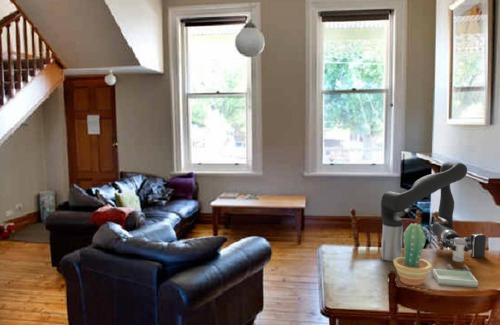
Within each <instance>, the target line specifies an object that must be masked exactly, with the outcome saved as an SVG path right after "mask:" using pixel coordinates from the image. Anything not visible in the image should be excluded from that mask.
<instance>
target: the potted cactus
mask: <svg viewBox="0 0 500 325" xmlns="http://www.w3.org/2000/svg"><path fill="white" fill-rule="evenodd" d="M427 239H428V242H430V240H431V233H430V230H429V229H428V228H427V227H426V226H422V225H421V224H418V223H417V222H414V223H412V222H411V223H410V224H409V225H407V227H406V229H405V230H404V232H403V246H404V253H403V254H404V256H402V257H398V258H396V259H394V260H393V261H392V262H393V266H394V267H395V269H396V273H397V274H398V276H399V277H400V279H399V280H400V282H402V283H404V284H406V285H410V286H419V285H422V284H423V280H424V279H425V278H426V277H427V275H428V273H429V271H431V269H432V264H431V262H429V261H428V260H426V259H423V258H421V255H422V251H423V249H424V247H425V244H426V240H427Z"/></svg>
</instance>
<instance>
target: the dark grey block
mask: <svg viewBox="0 0 500 325" xmlns="http://www.w3.org/2000/svg"><path fill="white" fill-rule="evenodd" d="M469 241H471V249H472V250H471V253H470V257H472V258H476V259H477V258H483V257H485V256H486V245H487V244H486V242H487V236H486V235H485V234H483V233H473V234H471V235H470V238H469Z"/></svg>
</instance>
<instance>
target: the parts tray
mask: <svg viewBox="0 0 500 325" xmlns="http://www.w3.org/2000/svg"><path fill="white" fill-rule="evenodd" d="M432 276H433V277H434V280H435V282H436V283H437V284H438V285H442V286H443V285H446V286H455V287H456V286H458V287H469V288H470V287H471V288H478V287H479V281H478V280H477V278H476V277H475V276H474V274H472V273H471V272H470V271H456V270H449V269H440V268H432Z"/></svg>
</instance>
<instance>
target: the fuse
mask: <svg viewBox="0 0 500 325" xmlns="http://www.w3.org/2000/svg"><path fill="white" fill-rule="evenodd" d="M465 242H466V238H463V237H461V238H454V245H455V246H456V251H453V250H452V251H453V252H452V261H453V262H457V263H464V262H465V251H464V250H465Z"/></svg>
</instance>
